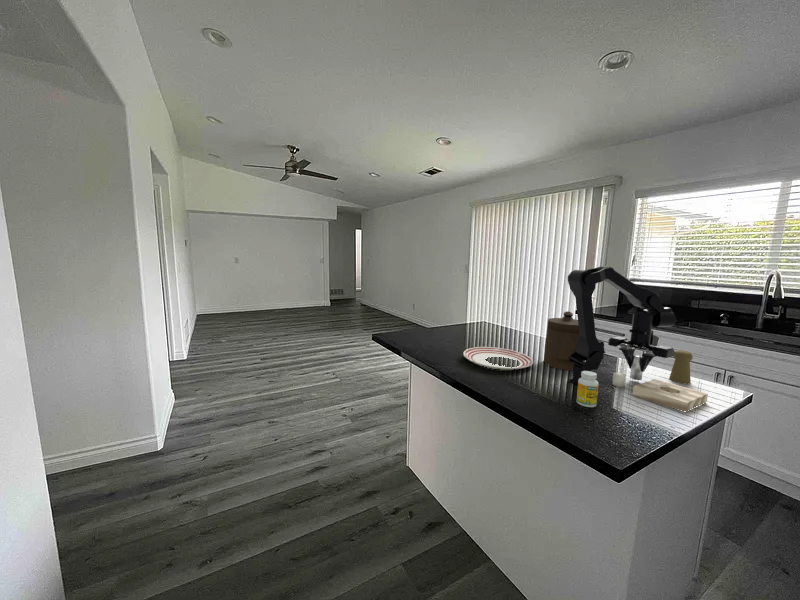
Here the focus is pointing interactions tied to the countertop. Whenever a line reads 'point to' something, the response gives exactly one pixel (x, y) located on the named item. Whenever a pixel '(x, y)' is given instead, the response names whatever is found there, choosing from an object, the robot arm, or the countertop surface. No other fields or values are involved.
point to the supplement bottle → (587, 389)
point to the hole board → (670, 394)
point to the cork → (681, 367)
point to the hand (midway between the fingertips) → (636, 370)
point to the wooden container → (561, 341)
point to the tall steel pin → (636, 367)
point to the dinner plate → (482, 353)
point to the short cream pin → (618, 379)
